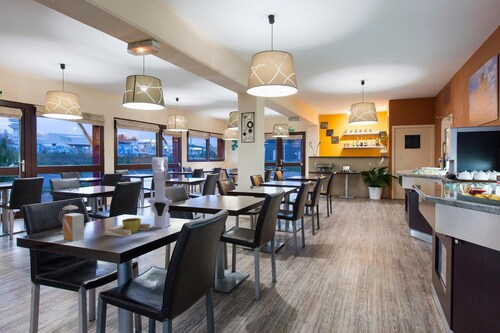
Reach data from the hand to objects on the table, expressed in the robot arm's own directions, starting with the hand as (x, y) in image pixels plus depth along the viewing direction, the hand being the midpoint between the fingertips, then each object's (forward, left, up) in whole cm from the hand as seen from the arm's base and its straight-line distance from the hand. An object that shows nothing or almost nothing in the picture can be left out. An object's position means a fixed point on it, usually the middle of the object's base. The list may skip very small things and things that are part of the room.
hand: (160, 215), depth 178 cm
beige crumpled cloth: (+5, -18, -9) cm, 21 cm away
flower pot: (+5, -16, -10) cm, 19 cm away
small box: (+27, -34, -10) cm, 44 cm away
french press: (+15, -51, -10) cm, 54 cm away
